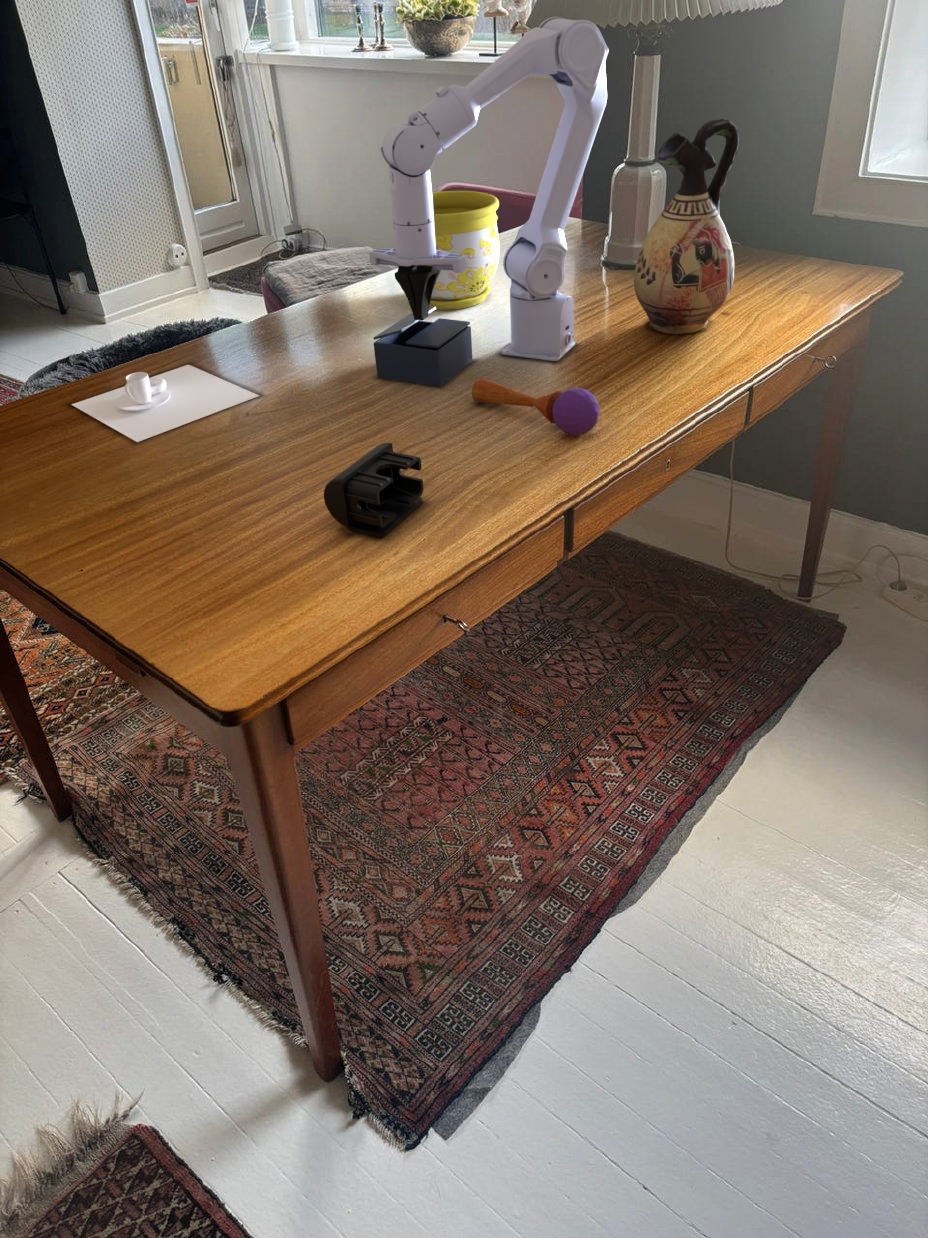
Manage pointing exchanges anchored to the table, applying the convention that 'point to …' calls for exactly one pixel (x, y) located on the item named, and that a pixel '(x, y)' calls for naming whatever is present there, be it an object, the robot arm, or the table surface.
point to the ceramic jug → (689, 238)
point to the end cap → (375, 492)
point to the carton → (425, 352)
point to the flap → (400, 325)
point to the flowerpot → (465, 246)
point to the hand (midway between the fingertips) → (421, 317)
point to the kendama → (546, 405)
